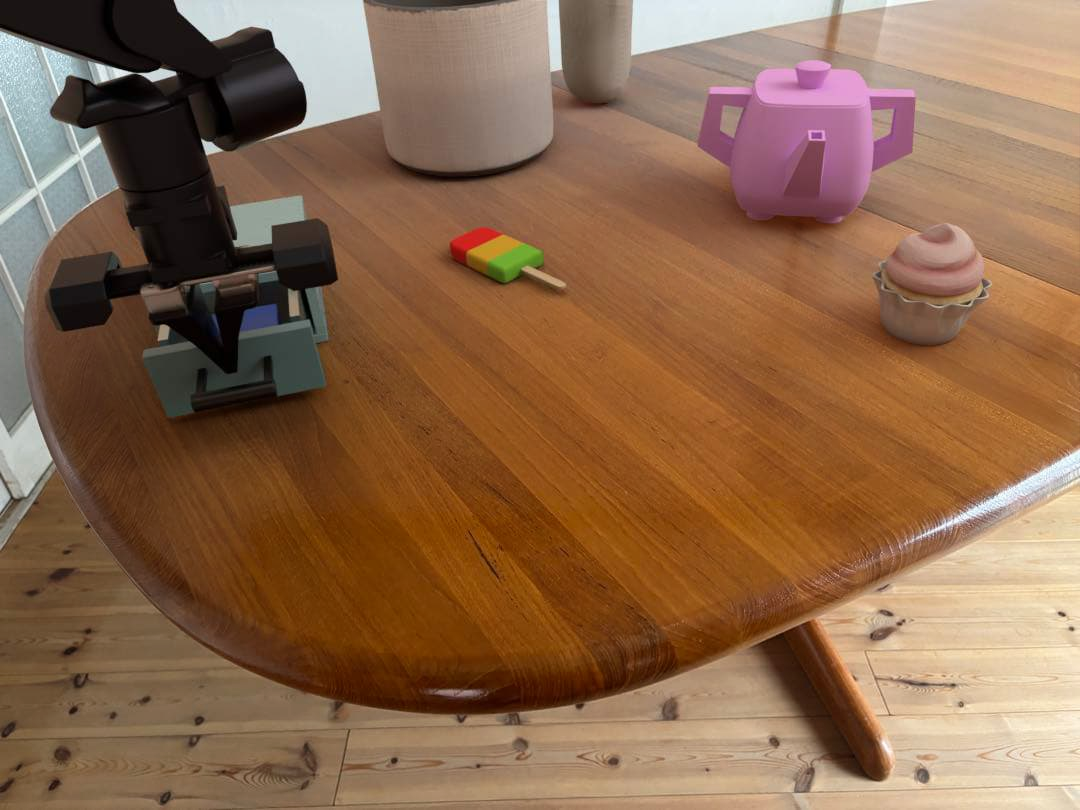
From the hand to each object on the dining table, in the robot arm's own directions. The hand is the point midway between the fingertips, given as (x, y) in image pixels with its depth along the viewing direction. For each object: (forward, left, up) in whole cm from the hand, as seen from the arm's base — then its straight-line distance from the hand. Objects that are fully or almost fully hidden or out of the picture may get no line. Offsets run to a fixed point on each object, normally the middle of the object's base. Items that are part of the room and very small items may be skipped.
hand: (232, 370), depth 63 cm
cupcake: (+57, -6, -6) cm, 58 cm away
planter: (+29, +52, -6) cm, 60 cm away
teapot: (+60, +21, -6) cm, 64 cm away
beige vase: (+51, +64, -6) cm, 82 cm away
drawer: (0, +7, -4) cm, 8 cm away
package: (0, +6, -3) cm, 7 cm away
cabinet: (0, +18, -5) cm, 19 cm away
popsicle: (+26, +17, -6) cm, 32 cm away
